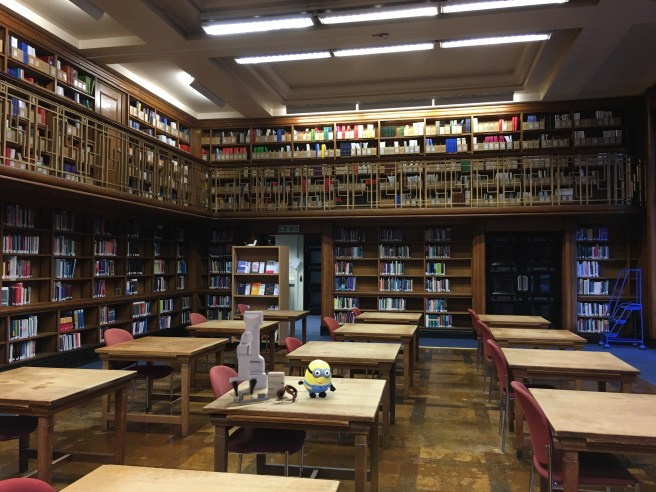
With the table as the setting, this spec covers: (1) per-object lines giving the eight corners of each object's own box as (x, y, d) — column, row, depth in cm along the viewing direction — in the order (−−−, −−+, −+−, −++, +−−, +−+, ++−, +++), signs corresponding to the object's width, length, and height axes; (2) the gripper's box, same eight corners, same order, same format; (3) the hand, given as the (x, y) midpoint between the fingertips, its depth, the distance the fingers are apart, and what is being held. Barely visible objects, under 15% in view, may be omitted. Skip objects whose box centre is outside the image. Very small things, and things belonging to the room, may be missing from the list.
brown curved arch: (284, 396, 263) (291, 383, 262) (295, 407, 257) (303, 394, 256) (268, 395, 254) (276, 381, 253) (279, 407, 247) (288, 393, 247)
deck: (244, 393, 267) (244, 391, 267) (248, 397, 260) (248, 395, 260) (229, 395, 263) (229, 393, 263) (233, 399, 256) (233, 397, 256)
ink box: (285, 393, 267) (285, 371, 267) (283, 396, 262) (283, 373, 262) (269, 393, 267) (269, 371, 268) (267, 395, 263) (267, 373, 263)
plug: (246, 400, 254) (246, 389, 254) (249, 403, 249) (249, 391, 250) (238, 401, 252) (238, 390, 252) (241, 404, 247) (241, 392, 248)
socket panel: (264, 397, 259) (264, 393, 259) (269, 401, 251) (269, 396, 252) (233, 401, 251) (233, 397, 251) (238, 405, 244) (238, 400, 244)
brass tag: (250, 398, 248) (250, 394, 248) (250, 399, 247) (250, 395, 247) (243, 399, 246) (243, 395, 246) (243, 400, 245) (243, 396, 245)
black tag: (264, 396, 251) (264, 392, 251) (265, 397, 251) (265, 393, 251) (257, 397, 250) (257, 393, 250) (258, 398, 249) (258, 394, 249)
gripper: (232, 371, 244) (232, 399, 244) (260, 368, 251) (260, 395, 251) (228, 368, 251) (228, 395, 250) (255, 365, 257) (255, 392, 257)
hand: (244, 395), depth 251 cm, fingers open, 7 cm apart
